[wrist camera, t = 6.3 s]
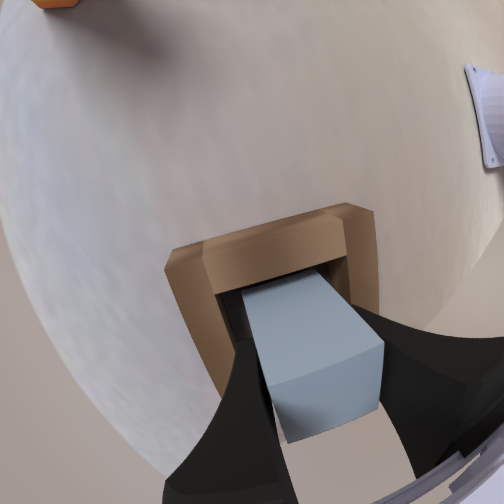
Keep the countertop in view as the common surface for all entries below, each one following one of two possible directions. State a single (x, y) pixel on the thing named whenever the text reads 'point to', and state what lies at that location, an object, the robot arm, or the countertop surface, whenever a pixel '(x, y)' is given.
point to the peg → (314, 354)
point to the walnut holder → (270, 271)
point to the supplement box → (55, 3)
